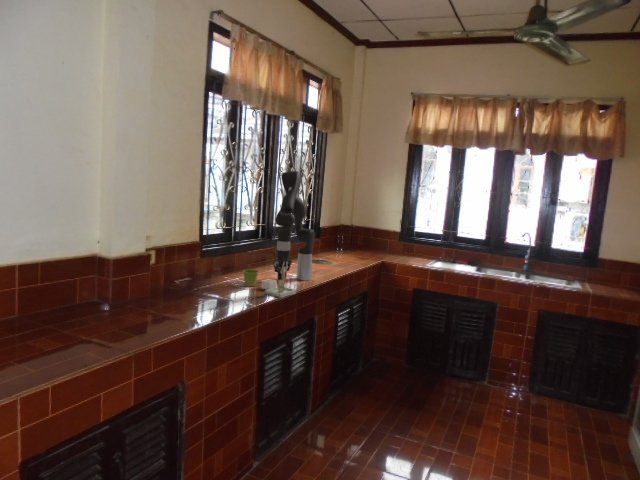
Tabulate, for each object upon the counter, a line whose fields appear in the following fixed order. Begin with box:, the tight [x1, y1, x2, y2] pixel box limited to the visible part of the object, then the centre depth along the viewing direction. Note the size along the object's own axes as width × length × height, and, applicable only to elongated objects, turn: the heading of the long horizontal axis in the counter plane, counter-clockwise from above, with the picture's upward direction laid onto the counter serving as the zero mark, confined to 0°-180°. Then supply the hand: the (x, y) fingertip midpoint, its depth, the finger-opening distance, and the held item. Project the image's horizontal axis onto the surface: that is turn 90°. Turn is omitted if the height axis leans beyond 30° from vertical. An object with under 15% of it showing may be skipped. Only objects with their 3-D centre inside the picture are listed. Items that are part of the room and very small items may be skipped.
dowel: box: [277, 267, 285, 292], centre depth 261 cm, size 3×3×14 cm
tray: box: [264, 286, 298, 299], centre depth 262 cm, size 15×11×2 cm
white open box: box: [261, 278, 278, 291], centre depth 270 cm, size 6×6×5 cm
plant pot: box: [242, 269, 259, 287], centre depth 276 cm, size 9×9×9 cm
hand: (281, 279), depth 261 cm, fingers closed on dowel, 3 cm apart
